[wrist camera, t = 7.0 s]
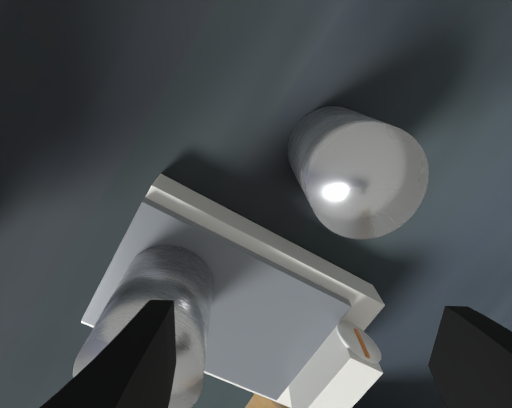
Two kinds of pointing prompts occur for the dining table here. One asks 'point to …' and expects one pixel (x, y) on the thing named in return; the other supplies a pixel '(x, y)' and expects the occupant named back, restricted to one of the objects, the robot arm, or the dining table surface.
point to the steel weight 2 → (357, 171)
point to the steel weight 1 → (185, 308)
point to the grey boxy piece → (261, 302)
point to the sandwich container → (263, 403)
